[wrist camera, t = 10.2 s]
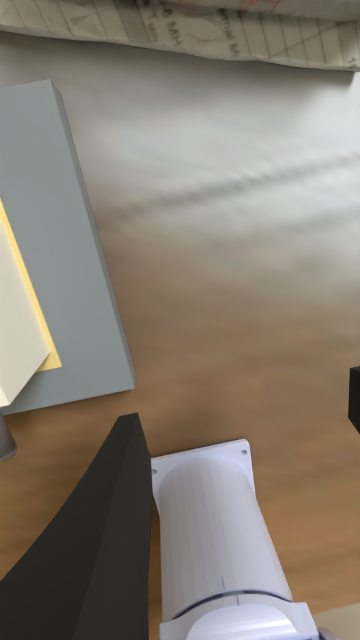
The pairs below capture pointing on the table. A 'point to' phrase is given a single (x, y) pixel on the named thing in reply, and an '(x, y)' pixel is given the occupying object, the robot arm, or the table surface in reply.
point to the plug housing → (16, 338)
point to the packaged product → (204, 27)
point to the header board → (58, 253)
